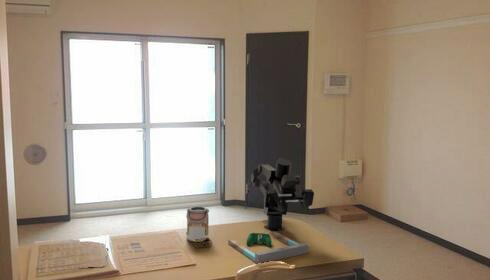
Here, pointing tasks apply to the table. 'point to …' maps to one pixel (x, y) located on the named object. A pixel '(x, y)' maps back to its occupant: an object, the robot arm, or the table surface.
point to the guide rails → (240, 248)
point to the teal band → (252, 255)
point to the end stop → (281, 253)
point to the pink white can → (197, 223)
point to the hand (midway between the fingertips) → (296, 210)
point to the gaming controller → (259, 238)
